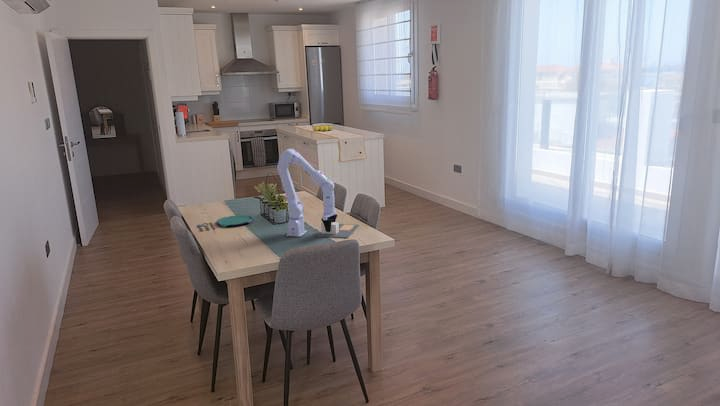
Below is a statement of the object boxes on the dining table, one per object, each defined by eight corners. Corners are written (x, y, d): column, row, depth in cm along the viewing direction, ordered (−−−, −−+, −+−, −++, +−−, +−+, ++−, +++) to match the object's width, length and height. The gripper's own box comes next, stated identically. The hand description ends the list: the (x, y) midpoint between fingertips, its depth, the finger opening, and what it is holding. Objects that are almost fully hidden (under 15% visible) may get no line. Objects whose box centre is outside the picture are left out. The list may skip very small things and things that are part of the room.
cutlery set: (256, 224, 276) (256, 220, 276) (201, 233, 264) (200, 229, 263) (248, 216, 293) (247, 212, 293) (195, 225, 281) (195, 221, 280)
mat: (347, 238, 247) (347, 237, 247) (317, 236, 252) (317, 235, 251) (358, 225, 268) (358, 224, 268) (330, 224, 272) (330, 223, 272)
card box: (336, 234, 253) (335, 224, 251) (321, 233, 255) (321, 224, 253) (338, 231, 257) (338, 222, 256) (324, 230, 259) (323, 221, 258)
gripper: (331, 208, 244) (333, 234, 248) (340, 201, 258) (341, 226, 261) (318, 207, 246) (319, 233, 249) (327, 200, 260) (329, 225, 263)
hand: (330, 229), depth 255 cm, fingers open, 6 cm apart
